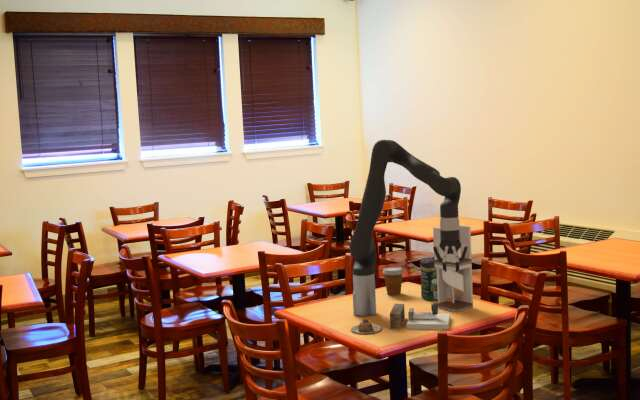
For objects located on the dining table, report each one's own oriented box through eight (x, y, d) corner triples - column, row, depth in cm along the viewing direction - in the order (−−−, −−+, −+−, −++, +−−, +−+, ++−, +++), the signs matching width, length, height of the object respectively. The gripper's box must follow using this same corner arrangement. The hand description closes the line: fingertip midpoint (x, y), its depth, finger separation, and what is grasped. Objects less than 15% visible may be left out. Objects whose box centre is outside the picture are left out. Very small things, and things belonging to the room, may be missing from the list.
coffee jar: (418, 297, 354) (417, 257, 352) (434, 295, 356) (432, 255, 354) (428, 302, 345) (426, 261, 343) (444, 299, 347) (442, 259, 345)
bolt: (410, 318, 310) (410, 304, 309) (411, 316, 313) (411, 302, 312) (438, 319, 307) (437, 304, 307) (438, 316, 311) (438, 302, 310)
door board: (406, 328, 304) (406, 315, 304) (410, 318, 320) (410, 305, 319) (448, 329, 301) (447, 315, 300) (450, 318, 316) (449, 305, 316)
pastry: (351, 327, 312) (351, 316, 312) (381, 326, 311) (381, 315, 310) (350, 336, 300) (349, 324, 300) (381, 335, 299) (380, 323, 299)
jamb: (390, 328, 306) (389, 313, 305) (395, 317, 321) (394, 303, 320) (401, 328, 305) (400, 314, 304) (405, 318, 320) (404, 303, 320)
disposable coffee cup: (382, 296, 359) (381, 271, 358) (384, 291, 369) (383, 266, 367) (403, 296, 358) (402, 270, 356) (404, 291, 367) (403, 266, 366)
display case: (436, 307, 334) (433, 227, 330) (453, 303, 340) (450, 224, 336) (455, 312, 325) (453, 229, 321) (473, 307, 331) (470, 226, 327)
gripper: (430, 230, 302) (432, 273, 304) (467, 229, 299) (469, 273, 301) (432, 227, 309) (433, 269, 311) (468, 226, 306) (469, 269, 308)
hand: (451, 271), depth 306 cm, fingers open, 3 cm apart
